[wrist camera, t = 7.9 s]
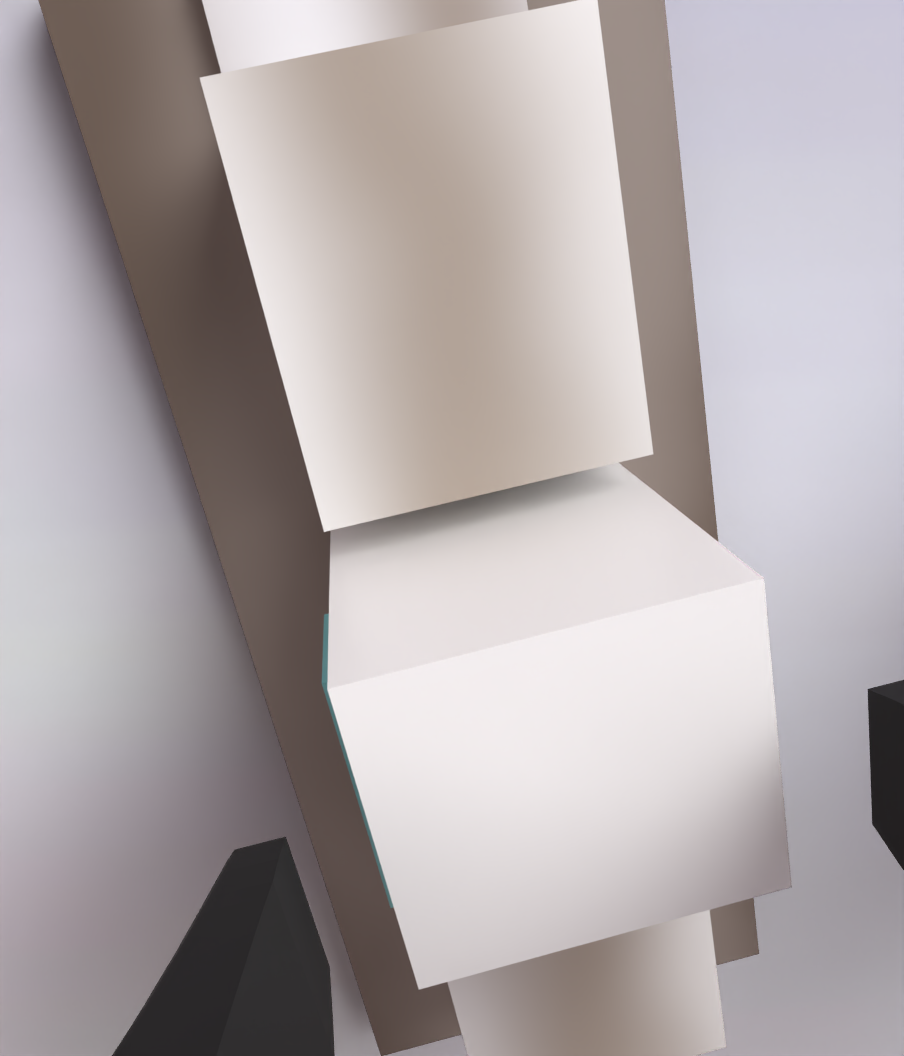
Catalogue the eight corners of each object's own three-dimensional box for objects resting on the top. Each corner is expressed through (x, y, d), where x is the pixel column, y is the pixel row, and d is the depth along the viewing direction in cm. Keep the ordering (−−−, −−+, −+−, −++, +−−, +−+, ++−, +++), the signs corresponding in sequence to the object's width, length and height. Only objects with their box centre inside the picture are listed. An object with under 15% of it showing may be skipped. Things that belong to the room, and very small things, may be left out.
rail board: (619, -122, 15) (773, -320, 10) (733, 910, 23) (849, 1107, 18) (56, -11, 14) (-106, -157, 9) (378, 1005, 23) (391, 1237, 17)
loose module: (588, 439, 16) (763, 578, 9) (620, 644, 18) (791, 887, 11) (320, 503, 16) (309, 693, 9) (378, 706, 17) (403, 994, 11)
